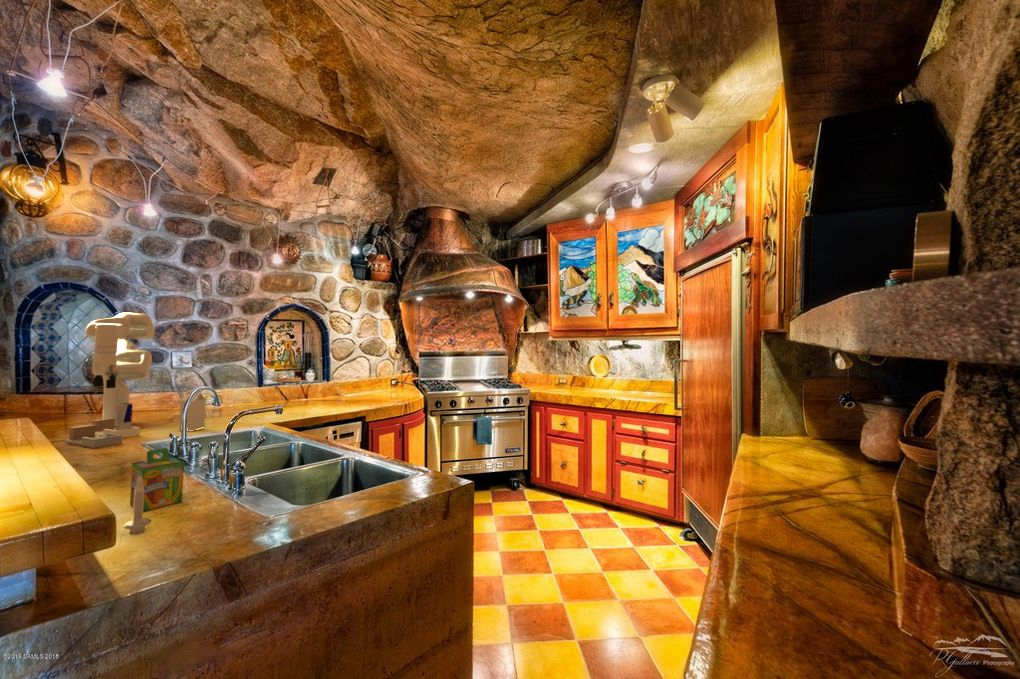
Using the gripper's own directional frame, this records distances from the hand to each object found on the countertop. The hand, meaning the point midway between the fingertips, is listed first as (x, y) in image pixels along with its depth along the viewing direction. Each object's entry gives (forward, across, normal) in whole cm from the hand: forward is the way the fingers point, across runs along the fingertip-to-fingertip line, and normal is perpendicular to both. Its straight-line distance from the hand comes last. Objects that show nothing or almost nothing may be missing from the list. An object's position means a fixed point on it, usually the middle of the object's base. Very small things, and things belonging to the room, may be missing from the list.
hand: (104, 387), depth 190 cm
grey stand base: (+21, +20, -12) cm, 32 cm away
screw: (+19, +128, -54) cm, 140 cm away
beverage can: (+21, +16, 0) cm, 27 cm away
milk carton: (+21, +27, +22) cm, 41 cm away
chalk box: (+20, +113, -41) cm, 122 cm away
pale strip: (+21, +9, 0) cm, 23 cm away
